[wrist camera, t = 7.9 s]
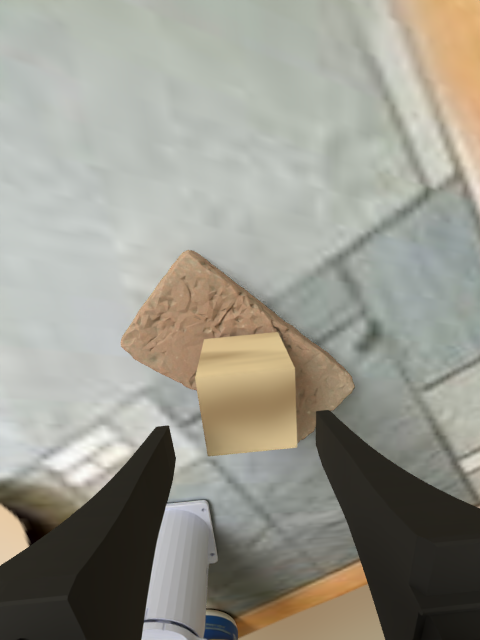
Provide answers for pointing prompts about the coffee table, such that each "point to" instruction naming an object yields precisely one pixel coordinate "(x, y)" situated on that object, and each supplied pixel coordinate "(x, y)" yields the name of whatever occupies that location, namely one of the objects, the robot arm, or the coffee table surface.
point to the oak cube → (246, 394)
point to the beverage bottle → (220, 626)
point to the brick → (226, 335)
